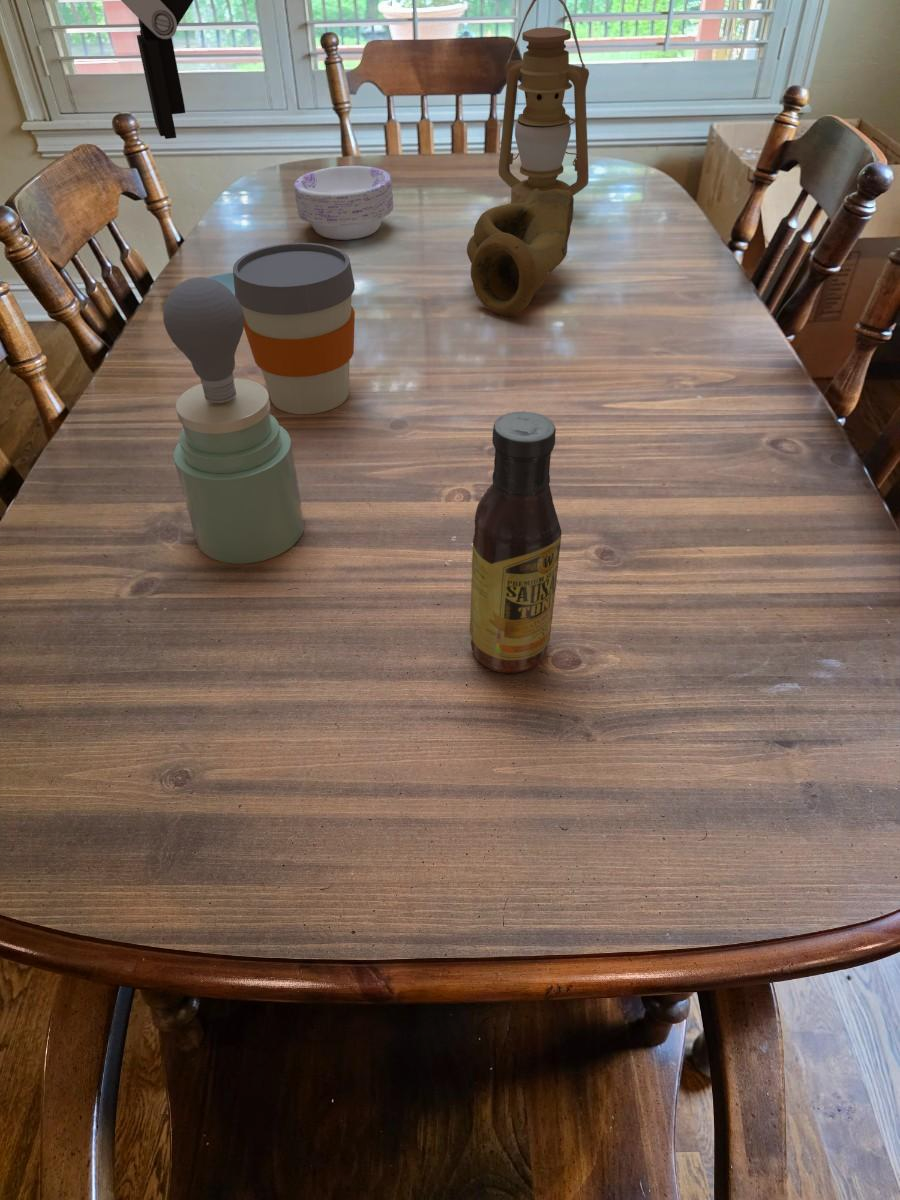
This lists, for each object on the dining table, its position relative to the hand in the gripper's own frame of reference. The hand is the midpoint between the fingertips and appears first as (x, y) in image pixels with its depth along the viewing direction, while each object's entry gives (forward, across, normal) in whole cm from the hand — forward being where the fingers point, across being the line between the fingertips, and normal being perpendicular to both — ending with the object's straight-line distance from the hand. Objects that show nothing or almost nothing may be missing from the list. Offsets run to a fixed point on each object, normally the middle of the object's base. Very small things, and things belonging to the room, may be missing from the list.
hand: (62, 142), depth 41 cm
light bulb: (+24, -6, -18) cm, 31 cm away
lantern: (+37, -67, -89) cm, 118 cm away
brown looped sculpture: (+37, -52, -63) cm, 90 cm away
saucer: (+38, -13, -70) cm, 81 cm away
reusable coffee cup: (+38, -17, -42) cm, 59 cm away
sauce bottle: (+38, -23, +4) cm, 44 cm away
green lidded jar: (+38, -6, -19) cm, 42 cm away
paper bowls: (+37, -35, -92) cm, 106 cm away
